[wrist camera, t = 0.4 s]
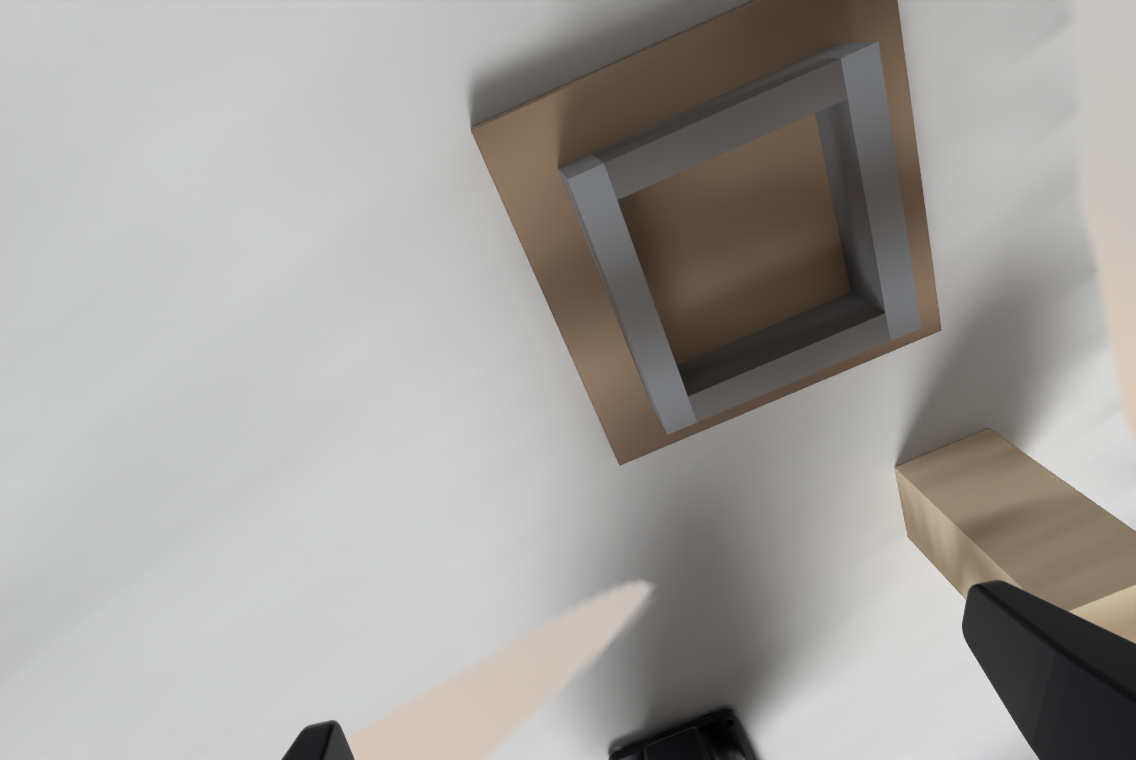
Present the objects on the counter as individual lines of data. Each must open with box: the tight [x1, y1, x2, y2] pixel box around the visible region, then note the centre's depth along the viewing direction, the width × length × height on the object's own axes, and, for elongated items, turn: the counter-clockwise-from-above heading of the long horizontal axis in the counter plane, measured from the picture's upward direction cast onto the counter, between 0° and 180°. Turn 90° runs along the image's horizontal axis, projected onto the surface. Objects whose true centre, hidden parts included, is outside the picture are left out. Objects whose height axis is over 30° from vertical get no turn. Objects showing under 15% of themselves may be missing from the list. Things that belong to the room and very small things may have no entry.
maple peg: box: [894, 428, 1136, 643], centre depth 24 cm, size 4×4×8 cm
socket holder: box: [471, 0, 941, 465], centre depth 20 cm, size 12×12×3 cm
